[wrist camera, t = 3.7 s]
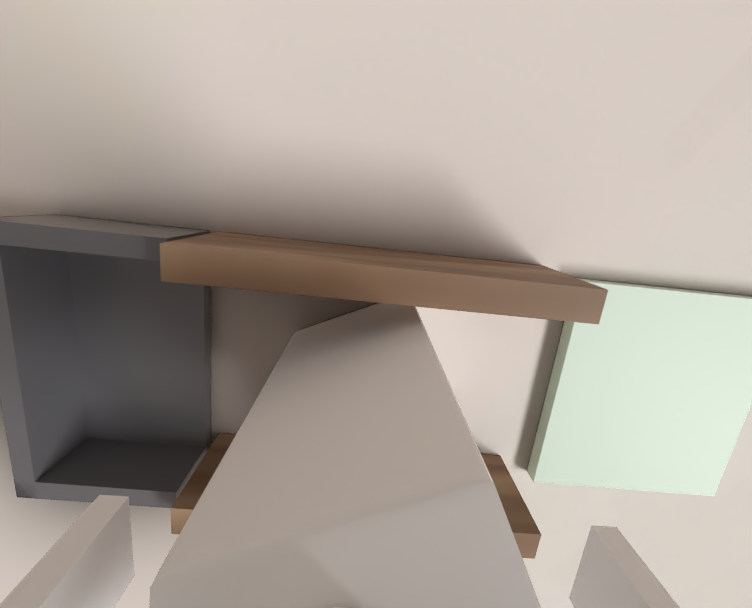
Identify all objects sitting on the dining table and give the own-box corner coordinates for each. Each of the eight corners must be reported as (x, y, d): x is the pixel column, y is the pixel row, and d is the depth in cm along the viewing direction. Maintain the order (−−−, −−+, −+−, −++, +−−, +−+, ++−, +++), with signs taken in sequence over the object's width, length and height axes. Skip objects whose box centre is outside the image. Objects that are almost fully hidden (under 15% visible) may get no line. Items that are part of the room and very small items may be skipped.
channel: (218, 231, 20) (159, 243, 15) (542, 265, 21) (608, 289, 15) (219, 453, 24) (171, 533, 18) (495, 475, 25) (534, 558, 19)
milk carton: (444, 397, 23) (725, 1121, 5) (336, 431, 24) (229, 1207, 5) (408, 291, 21) (642, 814, 3) (293, 331, 22) (-86, 983, 4)
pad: (575, 278, 21) (584, 281, 20) (774, 298, 22) (793, 303, 21) (526, 471, 25) (533, 482, 24) (700, 485, 25) (714, 496, 24)
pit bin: (56, 214, 20) (-30, 218, 16) (209, 230, 20) (166, 238, 16) (81, 442, 24) (17, 496, 19) (211, 452, 24) (176, 508, 20)
